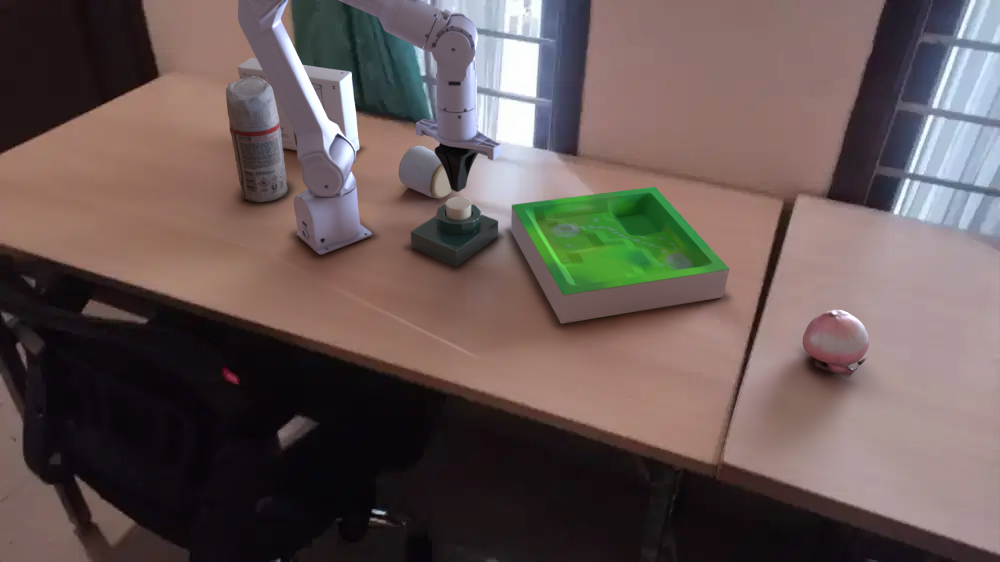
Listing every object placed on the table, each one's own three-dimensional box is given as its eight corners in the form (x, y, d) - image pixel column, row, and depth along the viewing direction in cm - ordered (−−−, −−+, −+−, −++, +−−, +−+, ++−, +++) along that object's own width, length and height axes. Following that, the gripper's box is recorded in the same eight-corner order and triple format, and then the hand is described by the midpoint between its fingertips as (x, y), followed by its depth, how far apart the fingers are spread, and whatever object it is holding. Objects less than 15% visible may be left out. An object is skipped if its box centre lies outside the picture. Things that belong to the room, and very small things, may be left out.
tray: (561, 323, 107) (563, 294, 104) (511, 231, 126) (511, 204, 124) (723, 297, 113) (729, 268, 110) (651, 212, 132) (655, 186, 129)
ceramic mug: (433, 207, 132) (432, 166, 128) (398, 192, 136) (396, 152, 132) (472, 185, 139) (472, 146, 135) (438, 171, 143) (437, 133, 139)
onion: (847, 341, 105) (863, 299, 101) (871, 380, 99) (889, 337, 94) (789, 342, 105) (802, 299, 100) (810, 381, 98) (824, 338, 94)
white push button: (460, 224, 119) (460, 212, 118) (440, 216, 121) (440, 204, 120) (476, 213, 122) (476, 201, 121) (456, 205, 124) (456, 194, 123)
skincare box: (250, 145, 151) (235, 65, 142) (265, 133, 155) (251, 56, 146) (348, 160, 146) (339, 79, 137) (361, 148, 150) (353, 69, 141)
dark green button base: (456, 267, 118) (455, 239, 115) (411, 247, 122) (409, 220, 119) (498, 236, 125) (498, 209, 122) (454, 219, 129) (454, 192, 126)
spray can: (297, 182, 139) (280, 74, 127) (281, 205, 132) (263, 93, 121) (251, 179, 139) (230, 72, 128) (234, 202, 133) (210, 91, 121)
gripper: (514, 108, 110) (511, 191, 118) (435, 84, 117) (438, 165, 125) (484, 124, 105) (484, 210, 113) (404, 99, 112) (409, 182, 120)
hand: (458, 188), depth 119 cm, fingers closed
